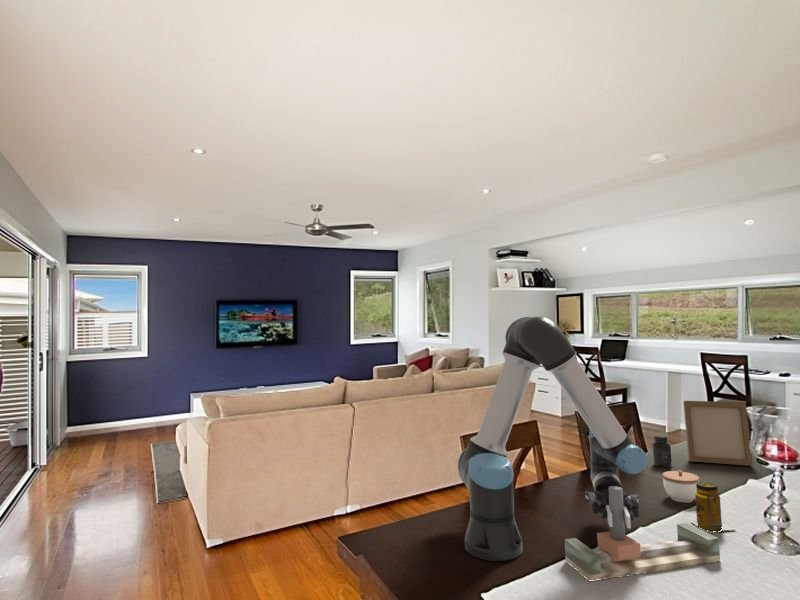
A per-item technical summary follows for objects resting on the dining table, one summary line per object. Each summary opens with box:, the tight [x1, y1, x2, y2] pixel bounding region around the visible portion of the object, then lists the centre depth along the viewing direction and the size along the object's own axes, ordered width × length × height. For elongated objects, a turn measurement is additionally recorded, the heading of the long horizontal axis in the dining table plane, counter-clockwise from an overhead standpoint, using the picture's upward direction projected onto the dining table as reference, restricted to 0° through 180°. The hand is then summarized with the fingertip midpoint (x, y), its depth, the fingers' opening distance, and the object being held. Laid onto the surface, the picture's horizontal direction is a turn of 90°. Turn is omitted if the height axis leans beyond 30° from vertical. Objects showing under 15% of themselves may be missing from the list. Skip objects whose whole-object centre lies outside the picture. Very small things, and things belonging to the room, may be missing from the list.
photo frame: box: [683, 400, 754, 467], centre depth 206 cm, size 15×22×25 cm
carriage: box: [596, 486, 641, 562], centre depth 120 cm, size 6×8×16 cm
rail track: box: [564, 522, 721, 581], centre depth 121 cm, size 36×10×6 cm, turn 103°
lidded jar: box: [661, 469, 700, 504], centre depth 162 cm, size 11×11×9 cm
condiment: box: [695, 481, 737, 534], centre depth 140 cm, size 7×8×12 cm
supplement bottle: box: [651, 434, 673, 469], centre depth 200 cm, size 7×7×12 cm
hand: (619, 521), depth 115 cm, fingers closed on carriage, 3 cm apart
